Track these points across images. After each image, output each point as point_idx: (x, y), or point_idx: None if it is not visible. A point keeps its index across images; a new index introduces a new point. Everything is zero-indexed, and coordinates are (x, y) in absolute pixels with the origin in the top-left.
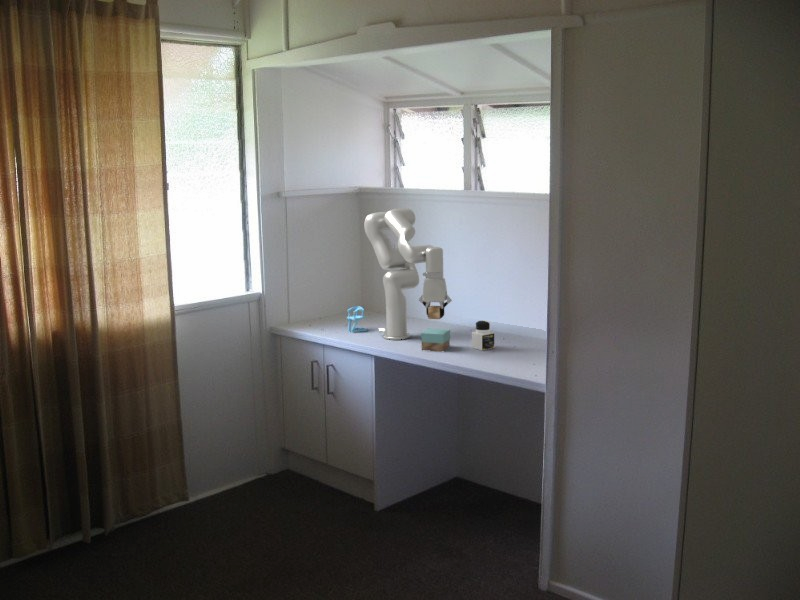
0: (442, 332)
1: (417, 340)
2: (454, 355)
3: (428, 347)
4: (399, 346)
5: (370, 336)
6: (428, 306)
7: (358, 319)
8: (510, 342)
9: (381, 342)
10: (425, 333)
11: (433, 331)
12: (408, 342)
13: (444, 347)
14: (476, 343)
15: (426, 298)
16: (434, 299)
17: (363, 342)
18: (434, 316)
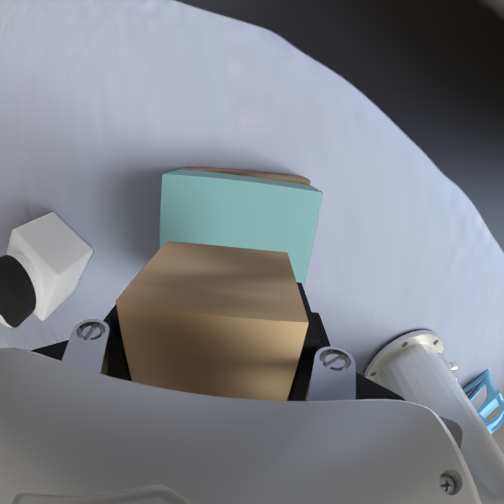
0: (181, 231)
1: (338, 344)
2: (130, 107)
3: (267, 173)
4: (404, 243)
5: (464, 352)
6: (308, 374)
7: (488, 399)
8: (35, 329)
9: (454, 294)
10: (293, 188)
11: None
12: (371, 311)
13: None
14: (61, 238)
15: (388, 453)
16: (138, 429)
17: (492, 283)
18: (215, 256)
